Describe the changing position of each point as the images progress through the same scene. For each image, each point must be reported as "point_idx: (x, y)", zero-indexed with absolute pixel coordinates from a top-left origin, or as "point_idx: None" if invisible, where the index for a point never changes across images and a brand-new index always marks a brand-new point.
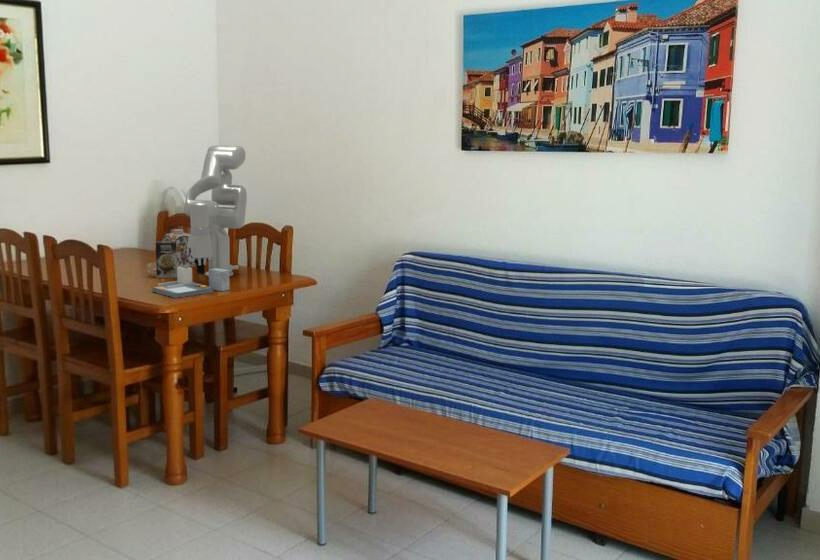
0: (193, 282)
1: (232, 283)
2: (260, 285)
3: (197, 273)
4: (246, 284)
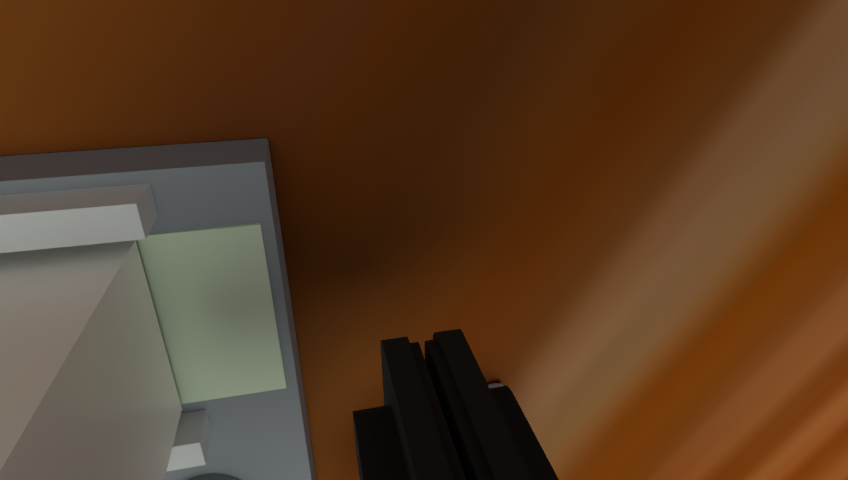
0: (182, 459)
1: (781, 265)
2: (831, 454)
3: (383, 349)
4: (810, 372)
